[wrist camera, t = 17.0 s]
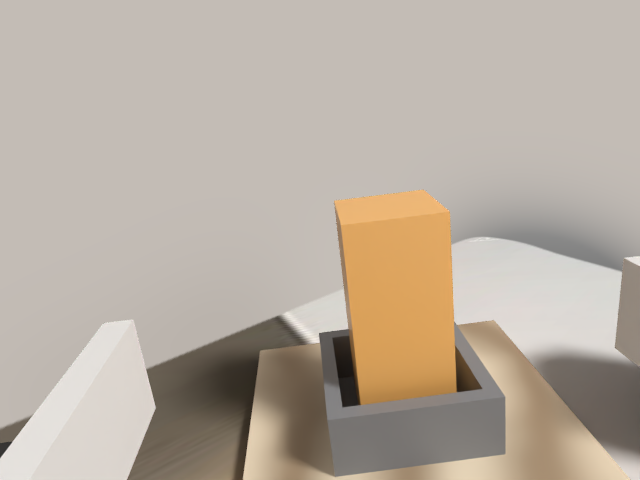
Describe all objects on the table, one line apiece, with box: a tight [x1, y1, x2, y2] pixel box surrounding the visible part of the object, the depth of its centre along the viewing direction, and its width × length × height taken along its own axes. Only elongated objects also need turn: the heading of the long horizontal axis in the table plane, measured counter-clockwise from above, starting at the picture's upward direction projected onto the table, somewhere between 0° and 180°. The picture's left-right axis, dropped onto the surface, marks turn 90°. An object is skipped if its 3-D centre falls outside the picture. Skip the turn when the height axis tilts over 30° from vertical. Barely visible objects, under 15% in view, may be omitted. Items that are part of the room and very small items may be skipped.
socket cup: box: [319, 322, 506, 477], centre depth 28 cm, size 9×9×3 cm
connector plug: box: [334, 190, 457, 405], centre depth 26 cm, size 5×5×12 cm
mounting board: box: [243, 320, 630, 480], centre depth 28 cm, size 18×18×1 cm
